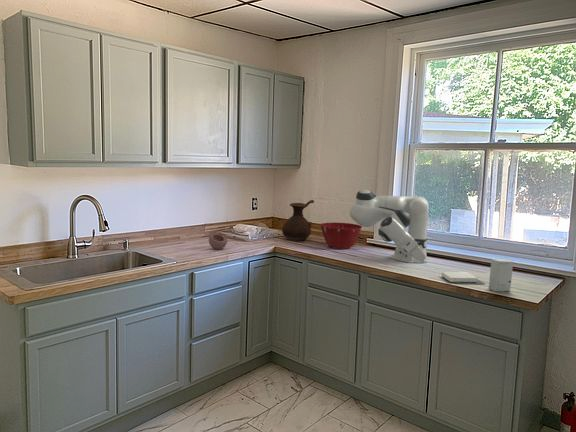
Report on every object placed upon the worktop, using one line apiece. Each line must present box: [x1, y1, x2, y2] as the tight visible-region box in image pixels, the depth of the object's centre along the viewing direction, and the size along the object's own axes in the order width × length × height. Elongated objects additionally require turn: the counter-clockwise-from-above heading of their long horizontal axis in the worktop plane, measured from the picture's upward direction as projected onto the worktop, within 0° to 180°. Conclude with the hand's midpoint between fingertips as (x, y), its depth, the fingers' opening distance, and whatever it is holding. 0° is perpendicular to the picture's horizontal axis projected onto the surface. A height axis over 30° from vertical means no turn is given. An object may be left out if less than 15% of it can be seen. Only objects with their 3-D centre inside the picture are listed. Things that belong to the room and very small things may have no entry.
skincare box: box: [488, 258, 514, 292], centre depth 224 cm, size 8×6×15 cm
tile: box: [440, 271, 478, 283], centre depth 241 cm, size 2×12×14 cm
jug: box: [281, 199, 315, 242], centre depth 340 cm, size 22×22×30 cm
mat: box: [453, 278, 486, 285], centre depth 241 cm, size 15×16×1 cm
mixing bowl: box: [319, 222, 363, 250], centre depth 317 cm, size 28×28×16 cm
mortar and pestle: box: [208, 231, 228, 250], centre depth 299 cm, size 12×12×11 cm
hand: (423, 262), depth 238 cm, fingers closed
